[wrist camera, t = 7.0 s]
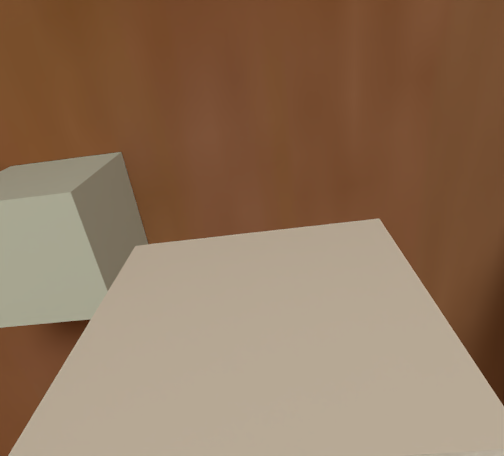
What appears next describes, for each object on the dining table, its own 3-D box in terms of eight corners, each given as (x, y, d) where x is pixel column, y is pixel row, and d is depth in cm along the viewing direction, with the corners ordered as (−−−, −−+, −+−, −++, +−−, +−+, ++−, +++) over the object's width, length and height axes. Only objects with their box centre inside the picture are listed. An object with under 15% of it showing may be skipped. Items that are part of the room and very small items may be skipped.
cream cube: (379, 218, 10) (530, 447, 4) (376, 393, 12) (465, 664, 7) (135, 245, 10) (-8, 481, 5) (186, 408, 13) (133, 671, 8)
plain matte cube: (121, 152, 21) (70, 191, 15) (150, 253, 23) (117, 316, 18) (11, 166, 21) (-76, 209, 16) (53, 263, 24) (-8, 328, 19)
